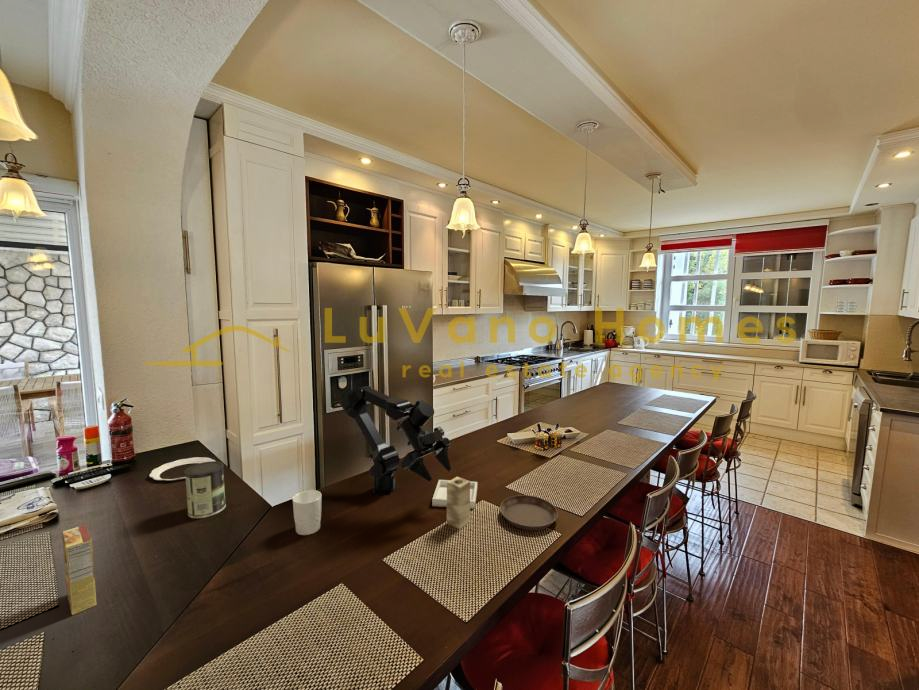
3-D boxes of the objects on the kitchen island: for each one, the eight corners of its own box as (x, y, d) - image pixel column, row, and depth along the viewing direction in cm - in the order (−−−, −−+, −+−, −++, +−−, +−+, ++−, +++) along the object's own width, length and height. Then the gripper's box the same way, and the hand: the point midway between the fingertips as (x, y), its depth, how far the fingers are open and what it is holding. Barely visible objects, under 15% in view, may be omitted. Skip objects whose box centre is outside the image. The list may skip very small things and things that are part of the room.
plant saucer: (558, 538, 110) (559, 528, 110) (497, 530, 114) (497, 520, 114) (556, 507, 128) (556, 498, 127) (502, 501, 131) (502, 492, 131)
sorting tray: (432, 506, 127) (432, 498, 127) (438, 486, 141) (438, 479, 141) (474, 508, 126) (474, 501, 125) (477, 488, 139) (477, 481, 139)
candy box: (66, 595, 87) (60, 531, 85) (92, 585, 90) (86, 523, 88) (71, 616, 81) (64, 548, 80) (98, 604, 84) (92, 538, 83)
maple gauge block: (446, 523, 117) (446, 482, 116) (456, 516, 121) (457, 476, 120) (459, 529, 114) (460, 487, 113) (469, 521, 118) (470, 481, 117)
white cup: (328, 524, 116) (327, 492, 115) (310, 539, 109) (308, 505, 108) (306, 519, 119) (305, 488, 118) (287, 533, 111) (286, 500, 110)
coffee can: (220, 498, 131) (217, 458, 129) (230, 509, 124) (227, 467, 122) (183, 510, 123) (180, 467, 122) (192, 522, 116) (189, 477, 115)
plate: (225, 468, 155) (225, 464, 155) (164, 489, 137) (164, 484, 137) (200, 457, 166) (200, 453, 166) (140, 474, 148) (140, 470, 148)
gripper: (406, 427, 115) (435, 473, 109) (446, 413, 129) (473, 453, 124) (389, 447, 120) (414, 491, 115) (429, 431, 135) (453, 470, 129)
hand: (440, 475), depth 121 cm, fingers open, 9 cm apart
